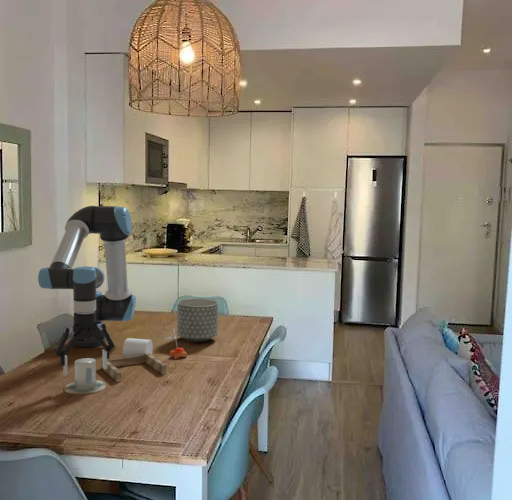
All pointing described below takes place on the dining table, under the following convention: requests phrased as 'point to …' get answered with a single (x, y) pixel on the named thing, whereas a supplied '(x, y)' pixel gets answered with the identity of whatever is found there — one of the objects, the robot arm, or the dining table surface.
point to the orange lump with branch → (177, 350)
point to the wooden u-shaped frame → (133, 360)
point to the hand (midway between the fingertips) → (85, 371)
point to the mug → (137, 347)
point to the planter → (197, 319)
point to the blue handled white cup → (85, 373)
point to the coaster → (72, 390)
